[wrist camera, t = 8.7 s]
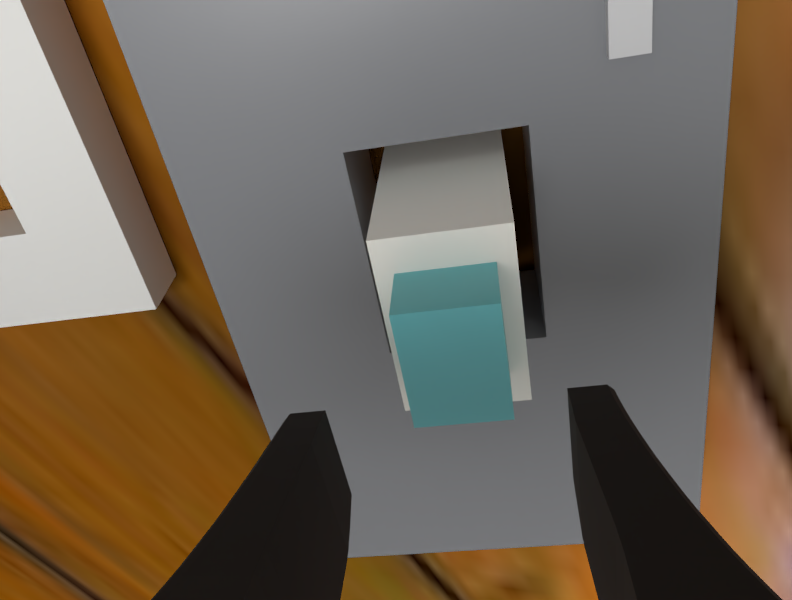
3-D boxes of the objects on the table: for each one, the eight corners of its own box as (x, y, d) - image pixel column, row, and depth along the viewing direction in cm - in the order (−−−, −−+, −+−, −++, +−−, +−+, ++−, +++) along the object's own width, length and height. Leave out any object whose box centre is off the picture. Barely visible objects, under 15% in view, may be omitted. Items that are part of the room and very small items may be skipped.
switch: (671, 458, 25) (700, 545, 22) (329, 484, 27) (314, 567, 24) (706, -421, 13) (781, -486, 10) (79, -264, 15) (-13, -279, 12)
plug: (513, 257, 21) (538, 446, 15) (416, 268, 21) (401, 457, 15) (497, 108, 18) (519, 262, 12) (388, 125, 19) (357, 280, 13)
